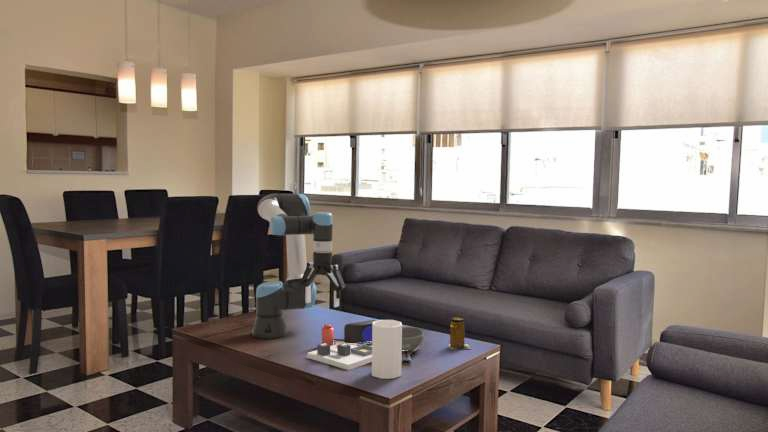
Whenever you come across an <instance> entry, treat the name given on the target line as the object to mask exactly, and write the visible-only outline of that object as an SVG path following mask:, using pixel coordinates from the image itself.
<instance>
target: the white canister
mask: <svg viewBox="0 0 768 432" xmlns="http://www.w3.org/2000/svg"><path fill="white" fill-rule="evenodd" d="M402 327H403V324H402V322H401V321H399V320H394V319H378V320H376V321H374V322H372V344H371V347H372V362H371V376H372V377H374V378H378V379H379V380H380V379H381V380H390V379H391V380H394V379H396V378H399V377H401V376H402V353H403V352H402Z"/></svg>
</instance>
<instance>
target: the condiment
mask: <svg viewBox="0 0 768 432" xmlns="http://www.w3.org/2000/svg"><path fill="white" fill-rule="evenodd" d="M450 321H451V322H450V327H449V332H450V333H449V343H448V347H449V349H451V350H470V349H471V347H470V345H469V344H467V343H465V336H466V335H465V332H466V331H465V330H466V329H465V326H466V325H465V319H464V318H462V317H453V318H451V319H450Z"/></svg>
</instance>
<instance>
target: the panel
mask: <svg viewBox="0 0 768 432" xmlns="http://www.w3.org/2000/svg"><path fill="white" fill-rule="evenodd" d="M340 344H347V345H350V355H347V356H343V355H339V354H338V345H340ZM306 354H307V356H306V357H307V359H309V360H310V359H311V360H312V361H313V360H314V361H317V362H320V363H323V364H327V365H329V366H333V367H337V368H340V369H344V370H346V371H351V370H353V369H356V368H359V367H362V366H364V365H368V364H369V363H372V345H361V346H356V345H352V344H348V343H344V341H342V342H340V343H336V344H335V343H334V345H332V346H330V354H329V355H326V356H323V355H320V354H317V349H316V350H313V351H309V352H307V353H306Z"/></svg>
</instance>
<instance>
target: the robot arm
mask: <svg viewBox="0 0 768 432" xmlns="http://www.w3.org/2000/svg"><path fill="white" fill-rule="evenodd" d="M310 205H311V204H310V200H309V198H308V196H306V195H305V194H303V193H296V192H295V193H269V194H268V195H267V194H266V196H263V197H262V198H261V199H260V200H259V201H258V203H257V206H256V207H257V209H256V210H257V213H258V215H259V217H261V218H262V219H264V220H266V221H268V222H269V230H270V234H271V235H273V236H286V238H285V239H286V253H287V254H286V255H287V256H286V257H287V266H288V267H287V270H288V277H287V279H286V280H285V283H283V282H282V281H281V280H272V281H271V280H270V281H267V282H263V283H260V284H259V285H257V287H256V289H255V291H256V292H255V302H256V303H255V305H256V306H255V307H256V310H255V313H256V314H255V319H254V323H253V328H252V331H251V334H252V337H254V338H256V339H257V338H258V339H265V340H266V339H277V338H281V337H284V336H287V327H286V324H285V323H286V322H285V320H284V316H283V311H290V310H291V311H292V310H305V309H311V308H312V307H313V306H314V305H315V301H316V299H317V286H316V283H315V282H314V280H315V279H316V277H317V276H318V275H319V276H320V275H321V276H325V277H326V278H328V280H329V282H330V283H331V285H332V286H333V288H334V290H333V308H338V307H340V299H341V297H342V290H344V289H346V284H345V282H344V279H343V277H342V274H341V272H340V267H339V266H340V265H339V264H332V262H333V252H332V251H333V222H334V221H333V220H334V219H333V214H332V213H331V212H326V211H323V212H321V211H318V212H314V213H313V215H311V206H310ZM305 235H313V238H312V241H313V242H312V250H313V253H312V261H309V262H307V251H306V250H307V249H306V236H305ZM312 270H313V271H312Z"/></svg>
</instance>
